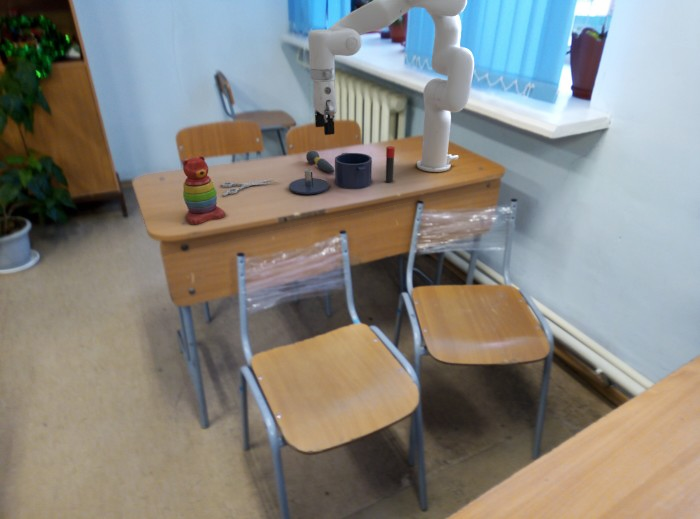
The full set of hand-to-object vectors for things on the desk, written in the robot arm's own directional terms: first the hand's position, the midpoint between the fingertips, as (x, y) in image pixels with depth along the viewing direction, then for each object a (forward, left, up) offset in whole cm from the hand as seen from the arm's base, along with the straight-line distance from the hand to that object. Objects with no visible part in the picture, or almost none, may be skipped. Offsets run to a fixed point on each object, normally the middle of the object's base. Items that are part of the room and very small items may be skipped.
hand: (324, 130), depth 155 cm
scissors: (+25, -10, -19) cm, 33 cm away
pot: (-10, -1, -19) cm, 22 cm away
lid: (+6, -1, -19) cm, 20 cm away
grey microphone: (-4, -20, -20) cm, 28 cm away
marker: (-22, +3, -19) cm, 30 cm away
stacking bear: (+42, +9, -20) cm, 47 cm away
